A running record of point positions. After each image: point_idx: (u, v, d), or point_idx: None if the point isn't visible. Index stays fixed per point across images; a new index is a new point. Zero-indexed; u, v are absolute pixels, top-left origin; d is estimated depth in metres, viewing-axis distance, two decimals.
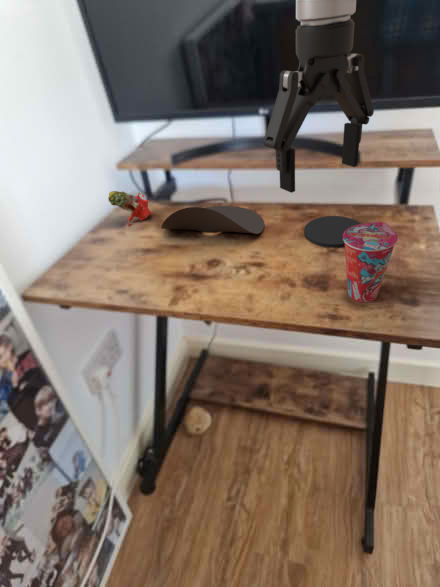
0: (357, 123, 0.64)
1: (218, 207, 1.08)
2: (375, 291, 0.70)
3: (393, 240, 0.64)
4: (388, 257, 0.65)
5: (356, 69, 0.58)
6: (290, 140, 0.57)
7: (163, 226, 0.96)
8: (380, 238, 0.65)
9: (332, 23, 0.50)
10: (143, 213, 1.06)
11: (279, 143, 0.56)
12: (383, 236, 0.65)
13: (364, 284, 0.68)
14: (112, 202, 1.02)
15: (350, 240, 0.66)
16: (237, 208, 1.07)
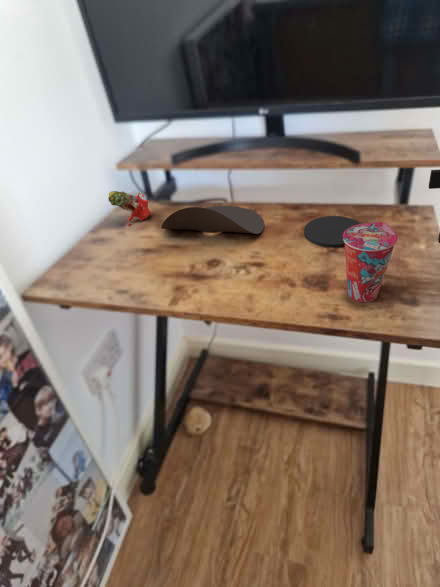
0: None
1: (218, 207, 1.08)
2: (375, 291, 0.70)
3: (393, 240, 0.64)
4: (388, 257, 0.65)
5: None
6: None
7: (163, 226, 0.96)
8: (380, 238, 0.65)
9: None
10: (143, 213, 1.06)
11: None
12: (383, 236, 0.65)
13: (364, 284, 0.68)
14: (112, 202, 1.02)
15: (350, 240, 0.66)
16: (237, 208, 1.07)
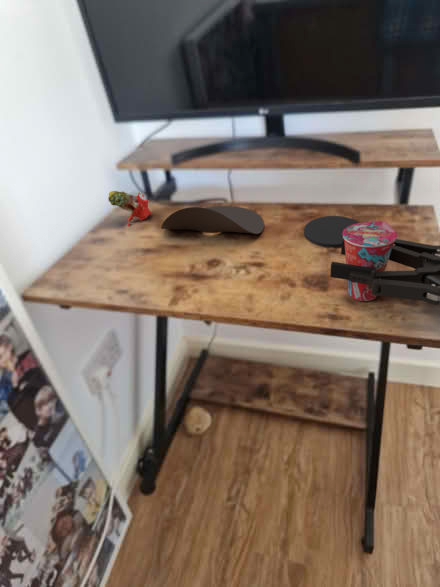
0: None
1: (218, 207, 1.08)
2: None
3: (393, 237, 0.64)
4: (388, 254, 0.65)
5: (433, 284, 0.61)
6: None
7: (163, 226, 0.96)
8: (380, 235, 0.65)
9: None
10: (143, 213, 1.06)
11: None
12: (383, 233, 0.66)
13: None
14: (112, 202, 1.02)
15: (350, 237, 0.66)
16: (237, 208, 1.07)
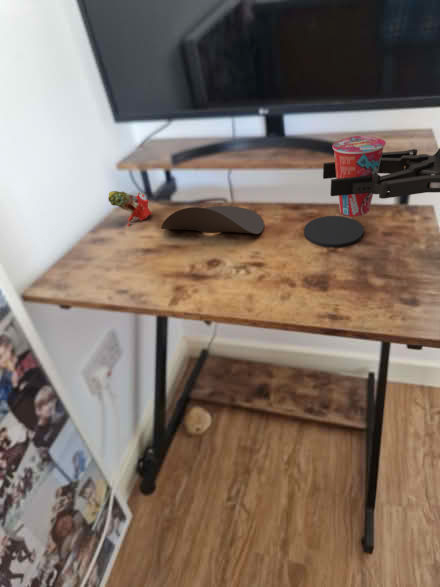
0: (373, 181, 0.66)
1: (218, 207, 1.08)
2: (370, 201, 0.71)
3: (382, 141, 0.66)
4: (380, 160, 0.67)
5: (432, 174, 0.64)
6: None
7: (163, 226, 0.96)
8: (369, 142, 0.67)
9: None
10: (143, 213, 1.06)
11: None
12: (370, 141, 0.67)
13: (362, 194, 0.69)
14: (112, 202, 1.02)
15: (344, 149, 0.66)
16: (237, 208, 1.07)
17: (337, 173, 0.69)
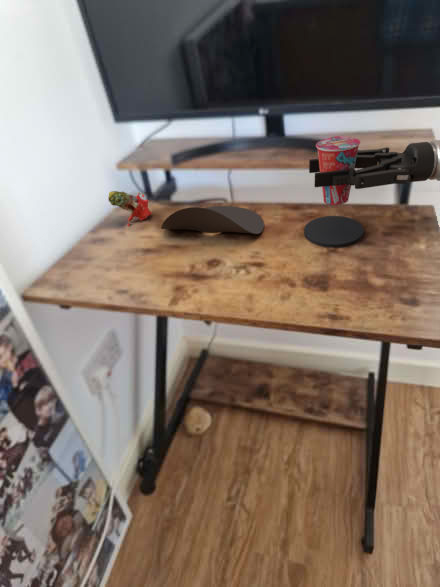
0: (349, 174, 0.79)
1: (218, 207, 1.08)
2: (349, 191, 0.83)
3: (357, 141, 0.79)
4: (356, 156, 0.80)
5: (399, 168, 0.77)
6: None
7: (163, 226, 0.96)
8: (347, 142, 0.79)
9: None
10: (143, 213, 1.06)
11: None
12: (347, 140, 0.80)
13: (341, 185, 0.81)
14: (112, 202, 1.02)
15: (326, 147, 0.78)
16: (237, 208, 1.07)
17: (320, 168, 0.82)
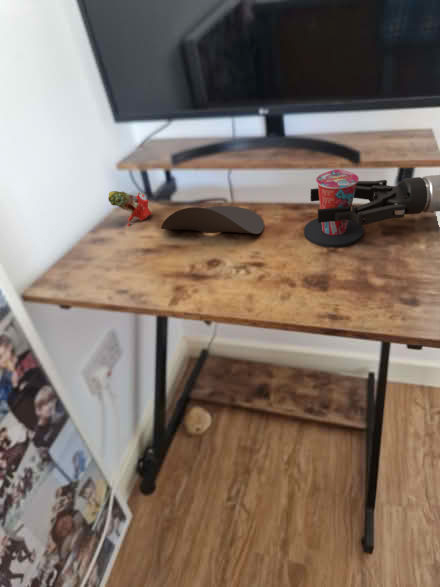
0: (351, 211, 0.82)
1: (218, 207, 1.08)
2: (346, 223, 0.88)
3: (355, 177, 0.83)
4: (354, 192, 0.84)
5: (395, 203, 0.81)
6: None
7: (163, 226, 0.96)
8: (346, 178, 0.83)
9: None
10: (143, 213, 1.06)
11: None
12: (346, 176, 0.84)
13: None
14: (112, 202, 1.02)
15: (326, 184, 0.82)
16: (237, 208, 1.07)
17: (320, 201, 0.86)
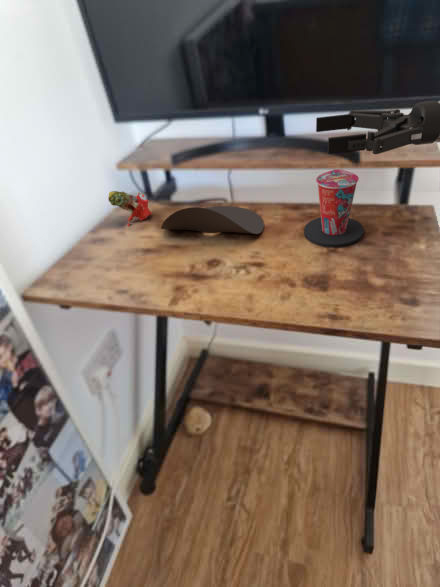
0: (367, 139, 0.72)
1: (218, 207, 1.08)
2: (346, 223, 0.88)
3: (355, 177, 0.83)
4: (354, 192, 0.84)
5: (410, 127, 0.72)
6: (355, 114, 0.83)
7: (163, 226, 0.96)
8: (346, 178, 0.83)
9: None
10: (143, 213, 1.06)
11: (353, 111, 0.84)
12: (346, 176, 0.84)
13: (340, 218, 0.86)
14: (112, 202, 1.02)
15: (326, 184, 0.82)
16: (237, 208, 1.07)
17: (320, 201, 0.86)
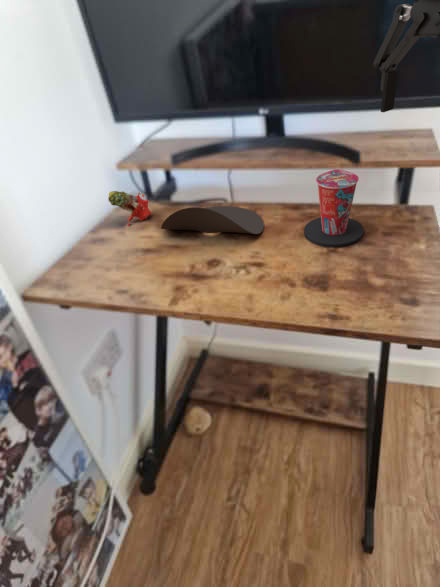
0: None
1: (218, 207, 1.08)
2: (346, 223, 0.88)
3: (355, 177, 0.83)
4: (354, 192, 0.84)
5: None
6: (386, 64, 0.71)
7: (163, 226, 0.96)
8: (346, 178, 0.83)
9: None
10: (143, 213, 1.06)
11: (377, 63, 0.73)
12: (346, 176, 0.84)
13: (340, 218, 0.86)
14: (112, 202, 1.02)
15: (326, 184, 0.82)
16: (237, 208, 1.07)
17: (320, 201, 0.86)
